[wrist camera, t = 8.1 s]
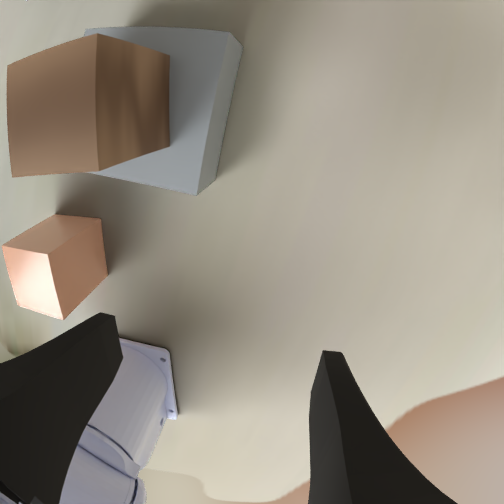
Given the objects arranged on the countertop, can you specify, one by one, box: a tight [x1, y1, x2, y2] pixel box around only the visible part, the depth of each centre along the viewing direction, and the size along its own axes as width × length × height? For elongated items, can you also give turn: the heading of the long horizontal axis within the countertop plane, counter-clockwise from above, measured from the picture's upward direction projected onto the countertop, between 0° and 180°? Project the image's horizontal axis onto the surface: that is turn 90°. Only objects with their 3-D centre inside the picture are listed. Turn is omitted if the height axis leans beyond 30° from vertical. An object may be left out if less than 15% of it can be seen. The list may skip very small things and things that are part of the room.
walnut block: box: [7, 33, 170, 177], centre depth 11 cm, size 4×4×6 cm
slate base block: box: [84, 27, 243, 196], centre depth 16 cm, size 8×8×4 cm
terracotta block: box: [2, 214, 108, 320], centre depth 19 cm, size 4×4×6 cm
